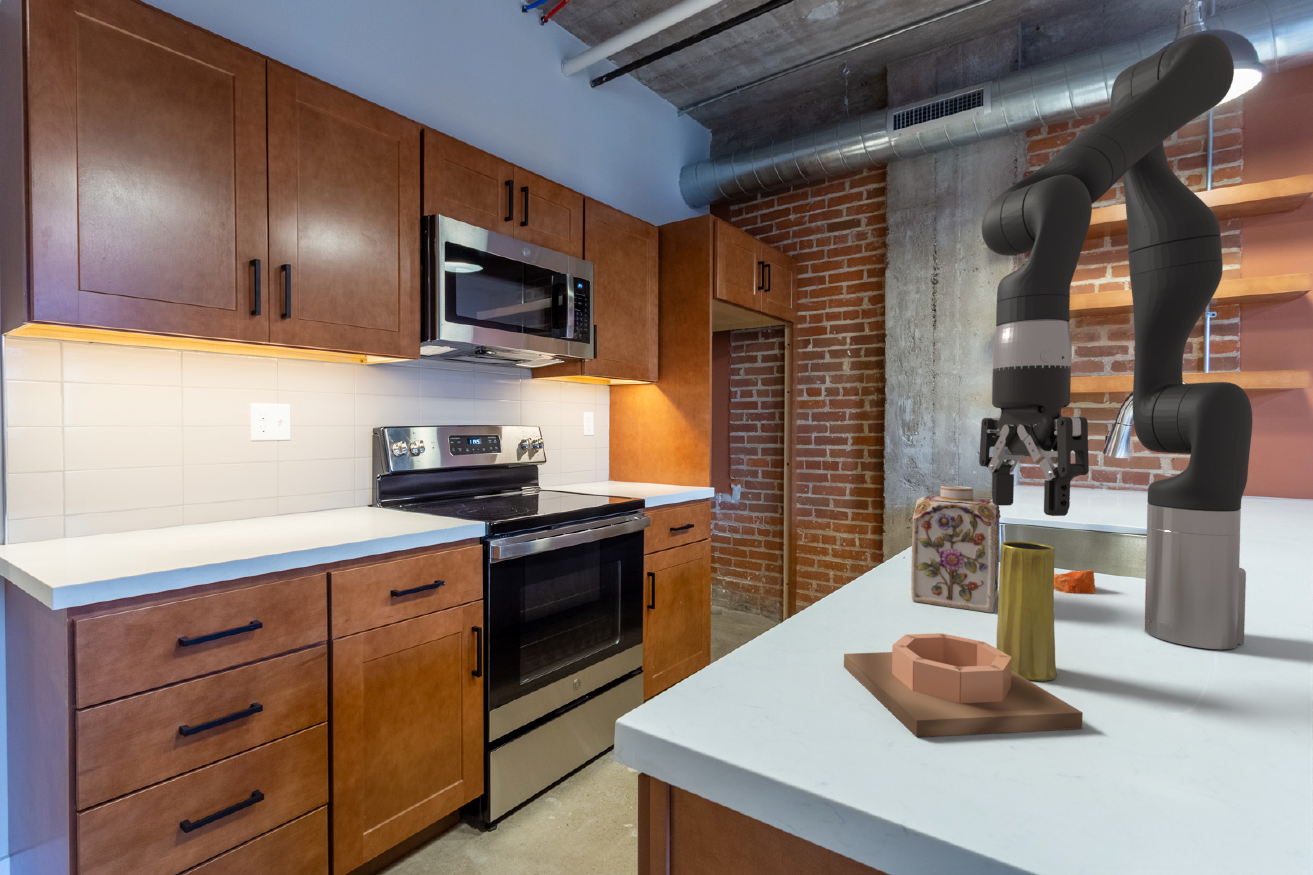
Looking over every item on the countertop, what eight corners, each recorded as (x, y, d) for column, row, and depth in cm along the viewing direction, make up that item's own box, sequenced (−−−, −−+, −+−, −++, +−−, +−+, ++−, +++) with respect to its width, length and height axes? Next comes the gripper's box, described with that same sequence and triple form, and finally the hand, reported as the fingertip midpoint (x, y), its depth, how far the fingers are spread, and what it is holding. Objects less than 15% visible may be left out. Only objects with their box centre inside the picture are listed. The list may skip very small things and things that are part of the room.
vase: (1066, 684, 67) (1069, 552, 66) (1004, 679, 68) (1006, 549, 68) (1043, 662, 73) (1045, 541, 72) (986, 658, 74) (988, 539, 74)
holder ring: (967, 658, 70) (967, 632, 70) (1032, 699, 59) (1033, 668, 59) (878, 662, 69) (878, 635, 69) (929, 704, 58) (929, 673, 58)
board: (975, 661, 73) (975, 648, 73) (1082, 728, 57) (1082, 712, 57) (843, 666, 71) (844, 653, 71) (916, 736, 55) (916, 720, 55)
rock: (1013, 586, 110) (1013, 562, 110) (1069, 582, 113) (1070, 558, 112) (1073, 605, 98) (1073, 578, 98) (1134, 600, 101) (1135, 574, 101)
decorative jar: (909, 602, 97) (910, 487, 97) (921, 585, 107) (922, 481, 107) (996, 614, 91) (998, 492, 91) (1000, 596, 101) (1002, 485, 101)
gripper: (1114, 359, 63) (1110, 519, 63) (1018, 371, 77) (1015, 501, 77) (1045, 358, 62) (1041, 520, 62) (961, 370, 76) (958, 502, 77)
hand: (1027, 509), depth 70 cm, fingers open, 8 cm apart
